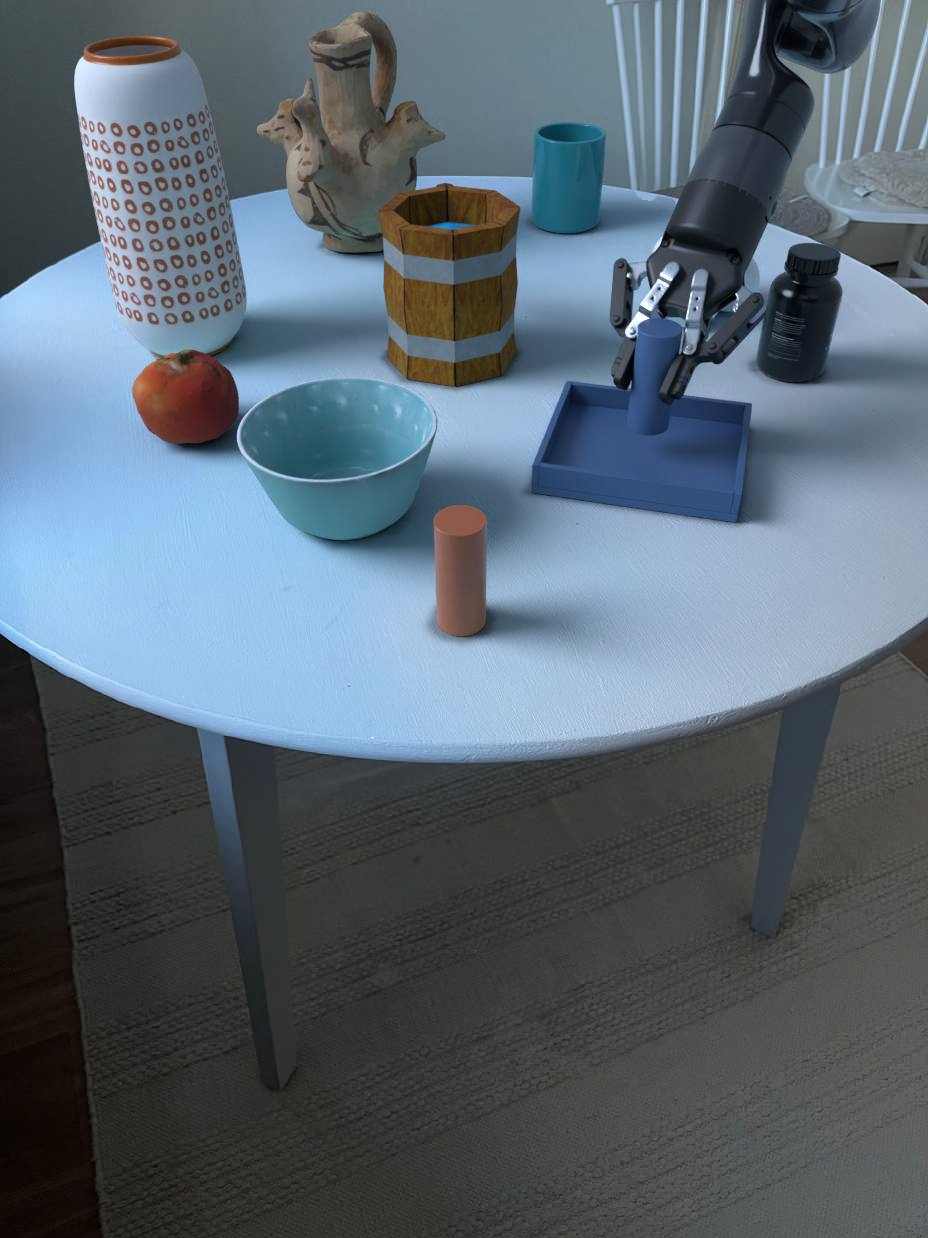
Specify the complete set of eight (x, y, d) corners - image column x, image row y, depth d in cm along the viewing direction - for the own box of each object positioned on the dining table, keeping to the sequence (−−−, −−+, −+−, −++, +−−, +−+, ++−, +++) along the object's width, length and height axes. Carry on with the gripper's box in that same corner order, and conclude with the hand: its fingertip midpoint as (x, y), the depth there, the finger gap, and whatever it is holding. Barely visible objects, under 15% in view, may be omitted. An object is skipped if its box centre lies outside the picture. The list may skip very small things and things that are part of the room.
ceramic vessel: (267, 229, 132) (238, 10, 115) (402, 207, 138) (393, -4, 121) (311, 281, 119) (286, 44, 103) (457, 255, 125) (455, 27, 109)
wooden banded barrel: (522, 384, 100) (528, 233, 90) (387, 389, 99) (377, 237, 90) (505, 301, 115) (508, 163, 105) (387, 305, 114) (378, 167, 104)
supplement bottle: (837, 376, 101) (868, 258, 93) (780, 389, 99) (807, 270, 91) (796, 348, 106) (822, 233, 98) (741, 359, 104) (763, 243, 96)
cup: (601, 204, 138) (608, 116, 131) (597, 236, 129) (605, 144, 122) (535, 201, 139) (539, 114, 132) (527, 233, 130) (531, 141, 123)
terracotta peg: (491, 608, 74) (492, 508, 68) (478, 640, 72) (479, 539, 66) (444, 600, 75) (442, 501, 69) (430, 631, 72) (426, 531, 67)
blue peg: (670, 417, 88) (684, 320, 82) (666, 438, 86) (680, 339, 80) (629, 411, 89) (641, 315, 83) (623, 432, 86) (634, 334, 80)
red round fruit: (126, 430, 94) (105, 351, 89) (213, 398, 98) (198, 321, 93) (173, 471, 89) (154, 390, 83) (263, 436, 93) (250, 356, 88)
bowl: (265, 584, 77) (249, 494, 71) (241, 475, 88) (225, 390, 83) (462, 547, 80) (461, 459, 74) (414, 447, 91) (410, 364, 86)
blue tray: (746, 429, 93) (752, 402, 91) (736, 522, 82) (742, 494, 80) (564, 406, 97) (566, 380, 95) (531, 492, 86) (532, 464, 84)
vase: (162, 384, 100) (91, 72, 82) (105, 338, 108) (28, 43, 90) (276, 345, 107) (235, 47, 88) (215, 304, 115) (165, 22, 96)
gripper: (638, 160, 82) (553, 354, 83) (805, 194, 76) (711, 403, 77) (660, 207, 89) (581, 386, 90) (814, 241, 83) (729, 433, 84)
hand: (642, 392), depth 83 cm, fingers closed on blue peg, 3 cm apart
